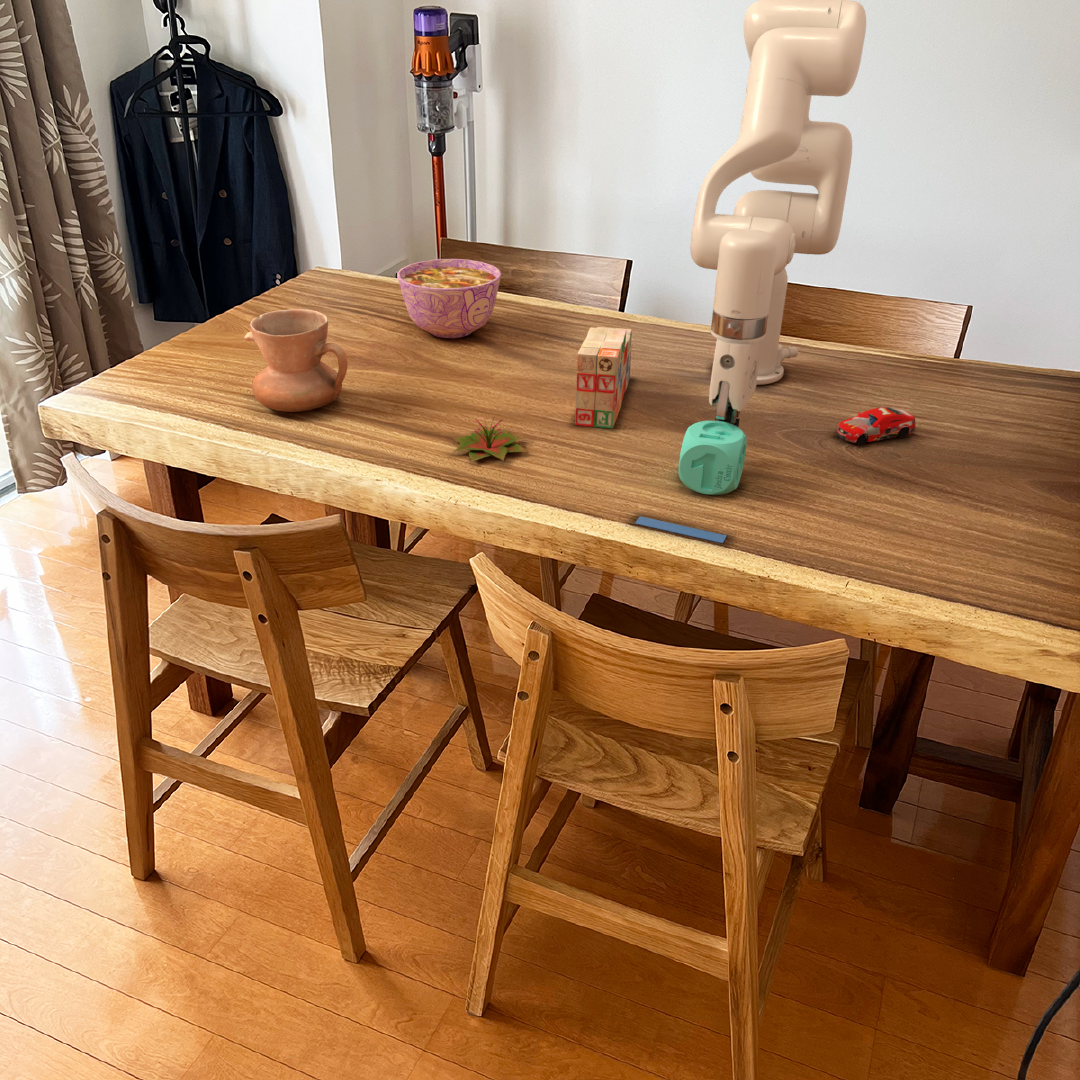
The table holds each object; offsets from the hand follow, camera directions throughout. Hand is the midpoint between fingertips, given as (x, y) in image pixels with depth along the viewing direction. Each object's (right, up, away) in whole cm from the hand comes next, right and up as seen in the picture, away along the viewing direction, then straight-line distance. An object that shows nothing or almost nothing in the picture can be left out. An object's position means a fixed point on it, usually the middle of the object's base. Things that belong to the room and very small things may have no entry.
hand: (724, 443), depth 145 cm
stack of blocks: (-16, +9, +21) cm, 28 cm away
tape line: (-9, -13, -15) cm, 22 cm away
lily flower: (-35, -1, +5) cm, 35 cm away
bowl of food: (-45, +27, +49) cm, 72 cm away
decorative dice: (-3, -6, -4) cm, 8 cm away
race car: (+26, +2, +11) cm, 28 cm away
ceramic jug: (-67, +8, +19) cm, 70 cm away
